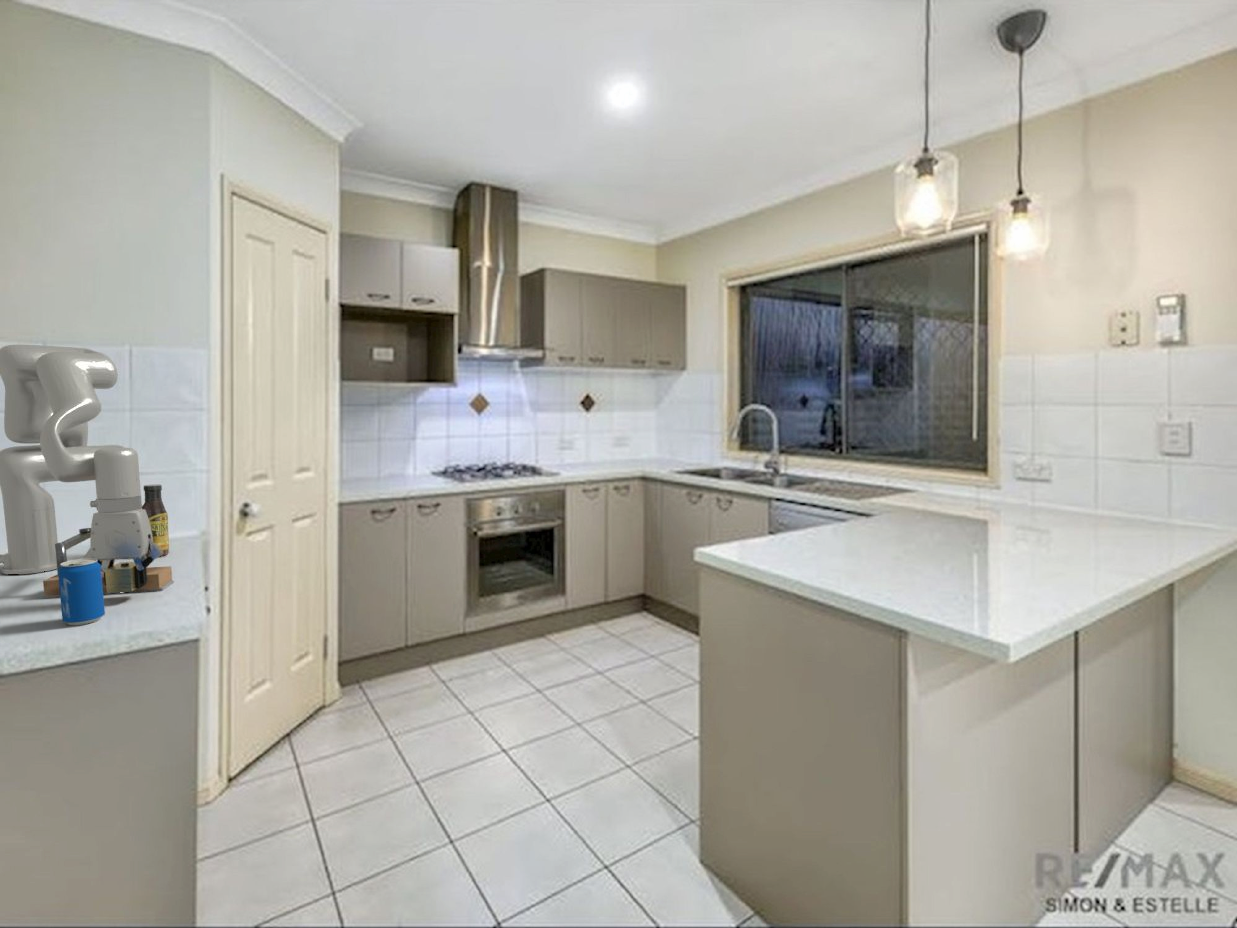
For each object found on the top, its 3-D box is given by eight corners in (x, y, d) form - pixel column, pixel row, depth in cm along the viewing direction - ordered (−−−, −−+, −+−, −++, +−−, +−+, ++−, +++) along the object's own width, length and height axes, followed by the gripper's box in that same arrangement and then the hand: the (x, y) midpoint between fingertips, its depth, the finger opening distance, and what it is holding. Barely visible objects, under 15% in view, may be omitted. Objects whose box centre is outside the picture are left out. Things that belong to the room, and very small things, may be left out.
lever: (67, 575, 144) (64, 541, 143) (54, 576, 143) (51, 542, 142) (96, 558, 159) (93, 527, 158) (84, 559, 158) (81, 528, 157)
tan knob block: (106, 592, 136) (104, 568, 135) (121, 584, 142) (119, 560, 142) (131, 591, 137) (129, 566, 137) (145, 582, 143) (143, 559, 143)
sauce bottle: (155, 559, 175) (149, 487, 173) (136, 557, 176) (130, 486, 174) (176, 553, 181) (171, 483, 179) (157, 552, 182) (152, 483, 180)
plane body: (42, 598, 141) (40, 581, 140) (61, 589, 147) (59, 572, 147) (161, 591, 146) (160, 574, 146) (174, 582, 153) (173, 566, 153)
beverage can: (53, 625, 124) (48, 565, 123) (86, 614, 131) (81, 557, 129) (82, 627, 123) (77, 566, 122) (113, 616, 130) (108, 558, 128)
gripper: (63, 509, 132) (71, 595, 134) (157, 506, 136) (163, 589, 138) (83, 504, 139) (90, 585, 141) (172, 500, 144) (178, 580, 145)
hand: (126, 586), depth 140 cm, fingers closed on tan knob block, 4 cm apart
